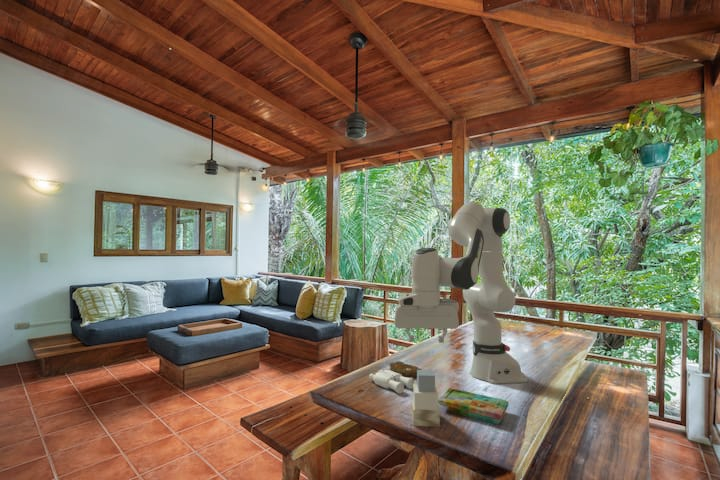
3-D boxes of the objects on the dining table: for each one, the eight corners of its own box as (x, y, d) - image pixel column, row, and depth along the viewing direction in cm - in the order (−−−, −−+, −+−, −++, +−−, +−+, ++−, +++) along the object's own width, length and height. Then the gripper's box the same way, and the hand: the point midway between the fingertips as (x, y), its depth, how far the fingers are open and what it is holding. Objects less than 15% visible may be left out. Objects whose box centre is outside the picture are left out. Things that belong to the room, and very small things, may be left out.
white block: (434, 400, 113) (434, 384, 113) (437, 410, 106) (437, 394, 106) (413, 399, 114) (413, 384, 114) (414, 409, 107) (414, 393, 107)
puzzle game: (501, 413, 106) (438, 397, 116) (501, 428, 105) (438, 411, 116) (508, 398, 115) (449, 385, 126) (508, 413, 115) (449, 398, 126)
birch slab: (436, 414, 114) (436, 399, 114) (439, 427, 106) (439, 410, 106) (411, 413, 114) (411, 398, 114) (413, 426, 106) (413, 409, 106)
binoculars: (397, 395, 128) (397, 383, 128) (366, 383, 140) (366, 371, 140) (414, 387, 135) (414, 375, 135) (384, 376, 147) (384, 365, 147)
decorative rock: (381, 373, 151) (410, 384, 141) (381, 364, 151) (410, 374, 141) (396, 365, 160) (424, 374, 150) (396, 356, 159) (424, 365, 149)
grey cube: (432, 385, 113) (432, 370, 113) (434, 391, 108) (435, 375, 108) (416, 385, 113) (416, 369, 113) (418, 391, 108) (418, 375, 108)
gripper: (456, 297, 113) (457, 339, 113) (394, 296, 115) (394, 338, 115) (461, 300, 107) (461, 345, 107) (394, 300, 108) (395, 344, 108)
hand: (426, 341), depth 111 cm, fingers open, 8 cm apart
